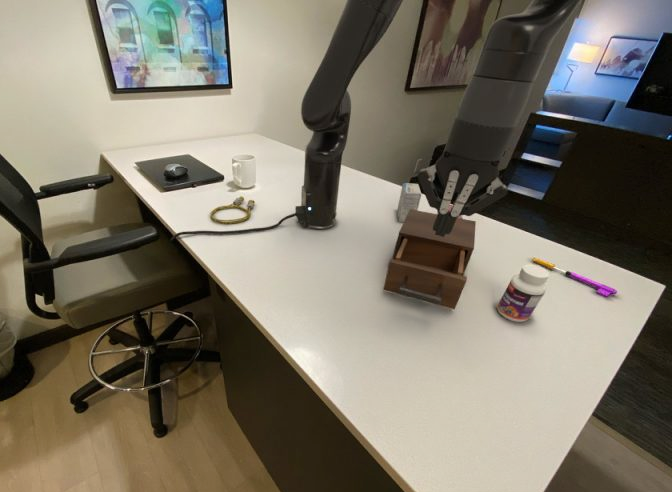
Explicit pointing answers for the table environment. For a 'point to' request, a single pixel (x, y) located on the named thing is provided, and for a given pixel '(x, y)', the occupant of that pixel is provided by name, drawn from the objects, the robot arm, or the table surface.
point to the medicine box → (408, 200)
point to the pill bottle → (523, 293)
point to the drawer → (427, 272)
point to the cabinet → (422, 229)
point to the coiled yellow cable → (237, 201)
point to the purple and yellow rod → (582, 279)
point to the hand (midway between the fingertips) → (440, 233)
